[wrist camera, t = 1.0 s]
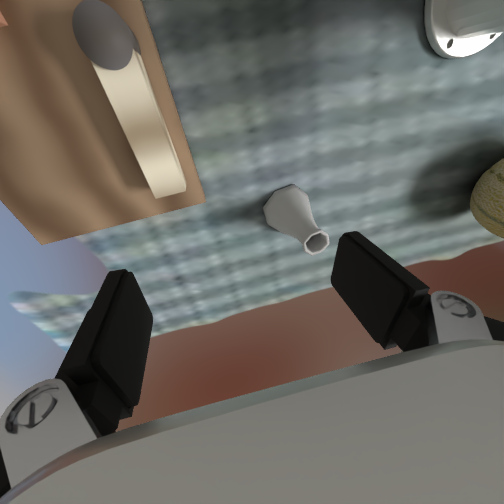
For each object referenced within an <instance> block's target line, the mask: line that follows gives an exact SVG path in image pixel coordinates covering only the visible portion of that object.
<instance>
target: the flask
mask: <svg viewBox="0 0 504 504" xmlns="http://www.w3.org/2000/svg"><path fill="white" fill-rule="evenodd" d="M263 210H264V214H265V218H266V221H267V224H268V225H270V226H271V227H273V228H275V229H276V230H278V231H279V232H281V233H284V234H287V235H290V236H292V237H294V238H296V239H298V240H299V241H300V242H301V243H302V244H303V249H304V251H305V252H307V253H308V254H310V255H315V254H318V253H320V252H322V251H323V250H324V249H325V248H326V247H327V246H328V245H329V235H328V234H327V233H325V232H324V231H322V230H321V229H318V227H317V225H316V223H315V222H314V219H313V216H312V212H311V208H310V203H309V198H308V195H307V194H306V193H305V192H303V191H302V190H301V189H300V188H298V187H297V186H296V185H295V184H293V185H290V186H288V187H285V188H282V189H280V190H277V191H275V192H274V193H273V195H272V196H271V197H270V199H269V200H268V201H267V203H266V204H265V205H264V207H263Z"/></svg>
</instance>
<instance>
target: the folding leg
mask: <svg viewBox="0 0 504 504" xmlns="http://www.w3.org/2000/svg"><path fill="white" fill-rule="evenodd" d="M72 26H73V32H74V35H75V38H76V40H77V43H78V45H79V46H80V48H81V49H82V51H83V52H84V54H85V55H86V56H87V57H88V58H89V59H90V60H91V62H92V64H93V66H94V69H95V71H96V73H97V75H98V77H99V79H100V81H101V84H102V86H103V88H104V90H105V92H106V94H107V96H108V98H109V101H110V103H111V105H112V107H113V109H114V111H115V113H116V116H117V118H118V120H119V122H120V124H121V126H122V128H123V130H124V133H125V135H126V137H127V139H128V141H129V143H130V145H131V148H132V150H133V152H134V154H135V156H136V158H137V160H138V162H139V165H140V167H141V169H142V171H143V173H144V175H145V177H146V180H147V182H148V184H149V186H150V188H151V190H152V192H153V194H154V197H155V199H157V198H161V197H165V196H169V195H173V194H177V193H180V192H184V191H186V179H185V177H184V174H183V171H182V168H181V166H180V163H179V160H178V157H177V155H176V152H175V149H174V146H173V143H172V141H171V138H170V135H169V132H168V130H167V127H166V124H165V121H164V119H163V116H162V113H161V110H160V108H159V105H158V102H157V99H156V97H155V94H154V91H153V88H152V85H151V83H150V80H149V77H148V74H147V72H146V69H145V66H144V63H143V61H142V58H141V51H140V46H139V43H138V40H137V38H136V36H135V34H134V33H133V31H132V30H131V29H130V27H129V26H128V25H127V24H126V23H125V22H124V20H123V19H122V18H121V17H120V16H119V14H118V13H117V12H116V11H115V10H114V9H113V8H111V7H110V6H109V5H107V4H105V3H104V2H101V1H99V0H84V1H82V2H80V3H79V4H78V5H77V6H76V8H75V10H74V13H73V17H72Z"/></svg>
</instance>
